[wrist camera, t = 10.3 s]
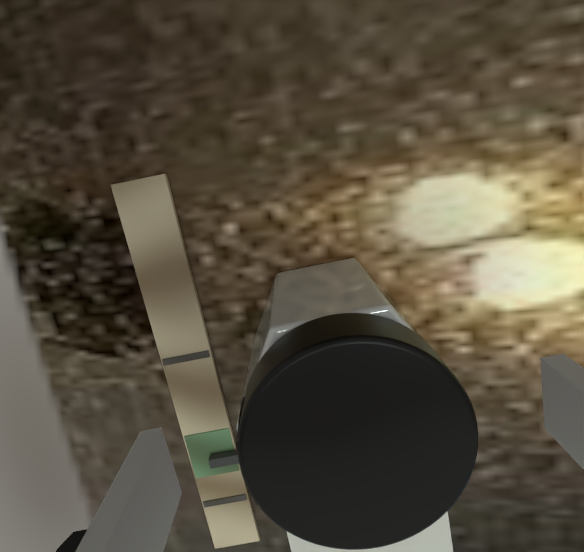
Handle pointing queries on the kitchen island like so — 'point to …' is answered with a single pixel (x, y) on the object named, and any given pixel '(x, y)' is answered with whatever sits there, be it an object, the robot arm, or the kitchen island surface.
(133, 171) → the kitchen island surface
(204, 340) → the strip
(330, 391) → the jar
